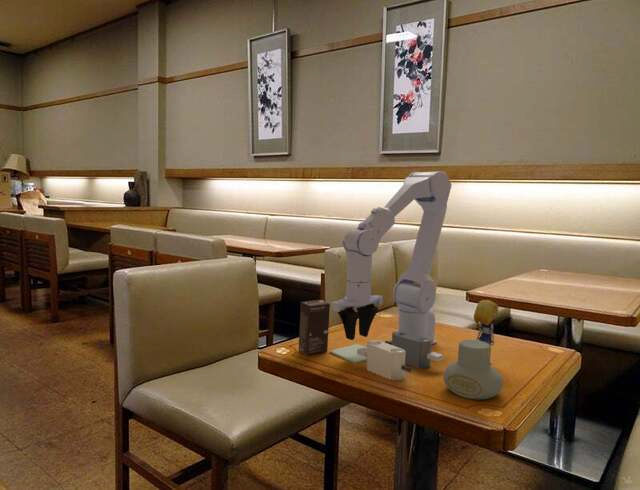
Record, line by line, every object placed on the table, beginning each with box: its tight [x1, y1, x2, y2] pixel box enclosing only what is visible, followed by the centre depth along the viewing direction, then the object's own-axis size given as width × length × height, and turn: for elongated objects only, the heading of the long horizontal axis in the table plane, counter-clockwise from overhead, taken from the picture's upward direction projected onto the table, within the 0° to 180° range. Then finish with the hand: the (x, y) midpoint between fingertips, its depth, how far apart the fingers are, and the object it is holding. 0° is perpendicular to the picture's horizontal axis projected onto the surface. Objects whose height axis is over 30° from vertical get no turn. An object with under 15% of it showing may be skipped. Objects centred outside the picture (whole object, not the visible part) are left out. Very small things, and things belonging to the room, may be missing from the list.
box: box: [298, 299, 331, 356], centre depth 115 cm, size 6×4×12 cm
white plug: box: [357, 339, 413, 382], centre depth 102 cm, size 14×4×6 cm, turn 39°
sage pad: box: [329, 343, 367, 365], centre depth 114 cm, size 9×9×1 cm
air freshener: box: [443, 339, 504, 401], centre depth 92 cm, size 11×8×10 cm
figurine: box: [473, 299, 499, 366], centre depth 108 cm, size 5×5×15 cm
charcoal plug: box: [384, 331, 444, 369], centre depth 109 cm, size 14×4×6 cm, turn 46°
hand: (356, 337), depth 113 cm, fingers open, 4 cm apart
